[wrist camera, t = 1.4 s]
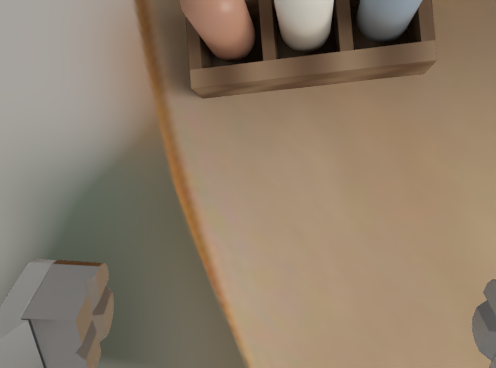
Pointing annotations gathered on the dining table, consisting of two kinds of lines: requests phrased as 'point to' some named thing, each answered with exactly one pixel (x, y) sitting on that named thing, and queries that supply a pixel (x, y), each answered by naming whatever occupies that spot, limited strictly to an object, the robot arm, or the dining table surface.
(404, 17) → the blue grey capsule
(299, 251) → the dining table surface
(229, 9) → the salmon pink capsule
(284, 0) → the white pillar candle
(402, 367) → the dining table surface
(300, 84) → the three candle holder
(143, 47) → the dining table surface
